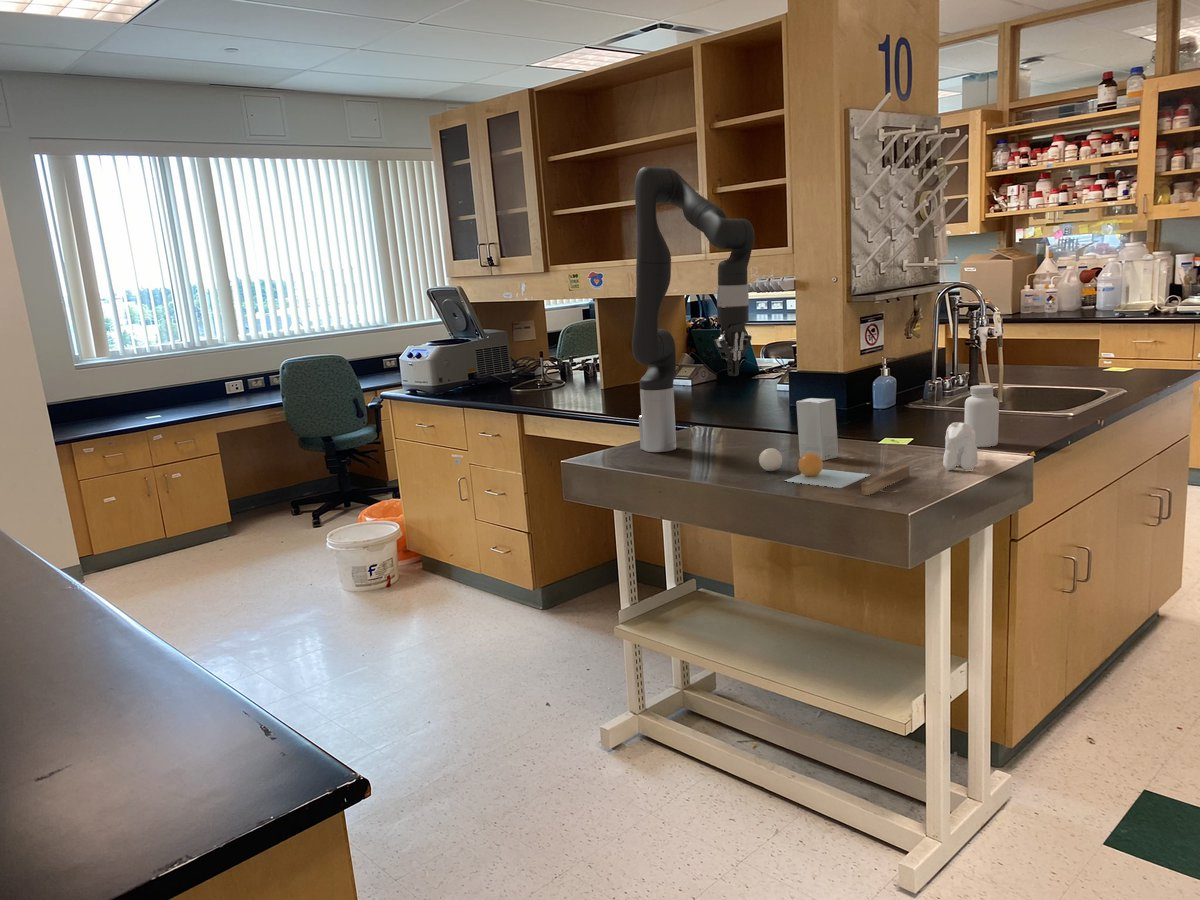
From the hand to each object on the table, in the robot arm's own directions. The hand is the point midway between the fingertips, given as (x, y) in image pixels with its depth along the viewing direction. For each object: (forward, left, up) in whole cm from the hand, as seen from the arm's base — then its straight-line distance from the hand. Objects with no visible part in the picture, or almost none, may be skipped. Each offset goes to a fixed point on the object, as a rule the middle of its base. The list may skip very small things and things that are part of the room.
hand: (733, 375), depth 214 cm
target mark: (+27, -3, -22) cm, 35 cm away
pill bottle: (+43, +47, -23) cm, 67 cm away
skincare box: (+14, +16, -23) cm, 31 cm away
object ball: (+23, -3, -20) cm, 30 cm away
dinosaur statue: (+48, +20, -23) cm, 57 cm away
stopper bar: (+41, -3, -22) cm, 47 cm away
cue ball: (+11, -2, -20) cm, 23 cm away
